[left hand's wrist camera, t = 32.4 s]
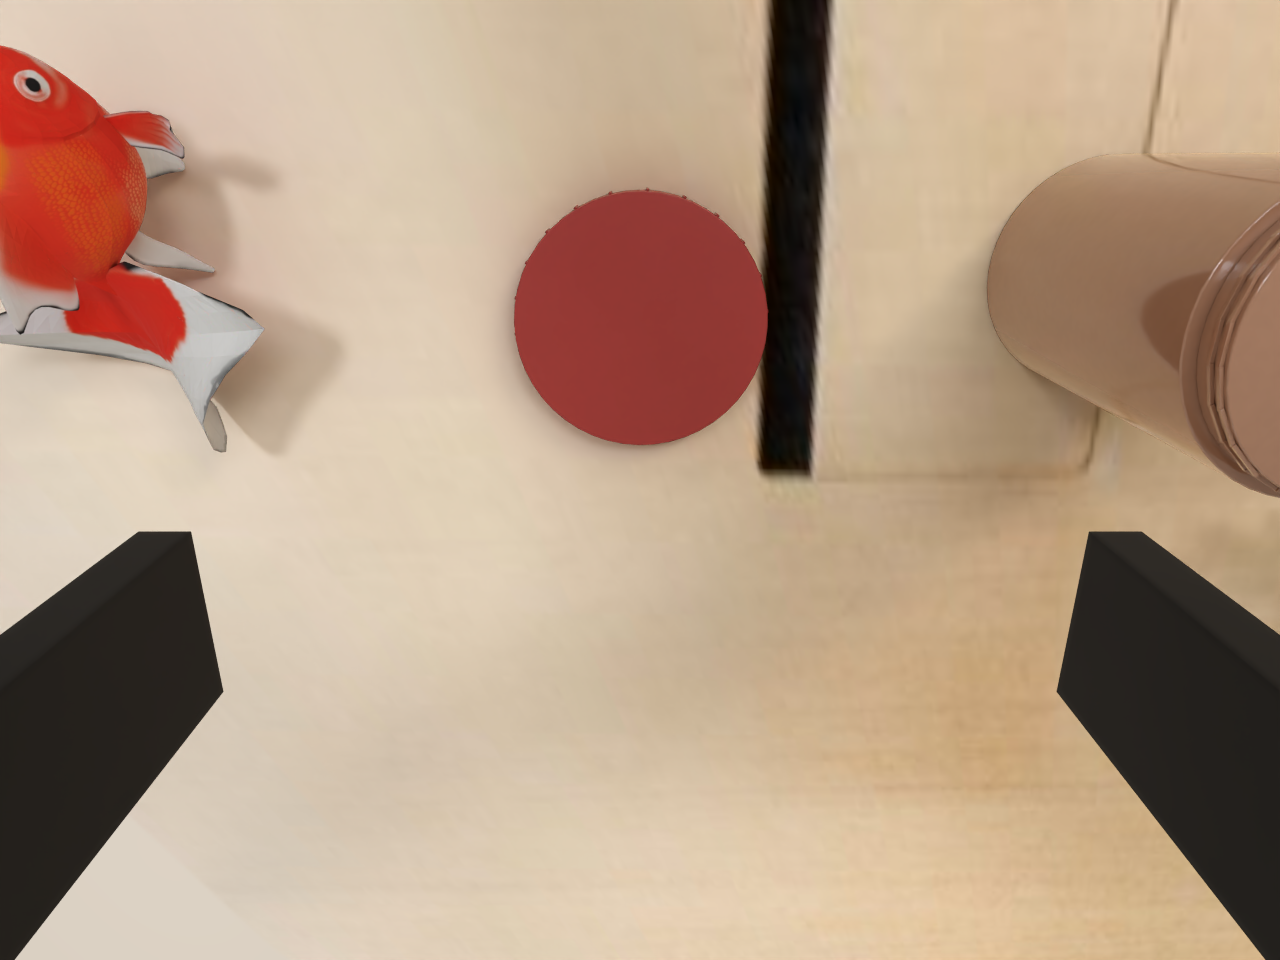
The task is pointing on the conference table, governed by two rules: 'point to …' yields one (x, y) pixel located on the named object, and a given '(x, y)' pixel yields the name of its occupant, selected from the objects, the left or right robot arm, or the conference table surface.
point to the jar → (1156, 299)
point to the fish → (100, 239)
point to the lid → (640, 317)
